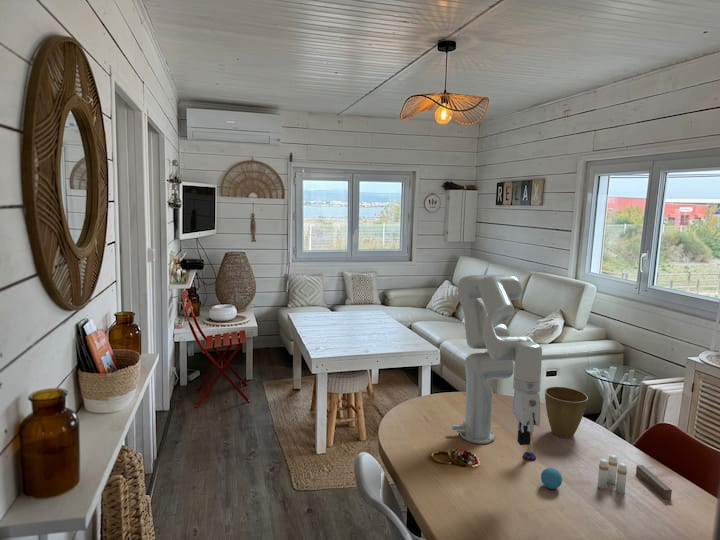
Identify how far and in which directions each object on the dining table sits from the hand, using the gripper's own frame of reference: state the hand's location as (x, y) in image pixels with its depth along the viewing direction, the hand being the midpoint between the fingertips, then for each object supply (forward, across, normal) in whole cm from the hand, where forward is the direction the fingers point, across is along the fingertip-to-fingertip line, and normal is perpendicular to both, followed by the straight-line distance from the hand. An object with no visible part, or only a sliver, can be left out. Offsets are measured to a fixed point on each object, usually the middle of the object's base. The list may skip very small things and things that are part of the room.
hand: (523, 443), depth 149 cm
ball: (+12, +1, -9) cm, 15 cm away
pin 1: (+14, +3, -30) cm, 33 cm away
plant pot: (+14, +36, -29) cm, 48 cm away
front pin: (+14, +1, -25) cm, 29 cm away
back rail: (+14, +1, -41) cm, 44 cm away
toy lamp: (+14, +19, -9) cm, 25 cm away
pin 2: (+15, -2, -30) cm, 33 cm away
